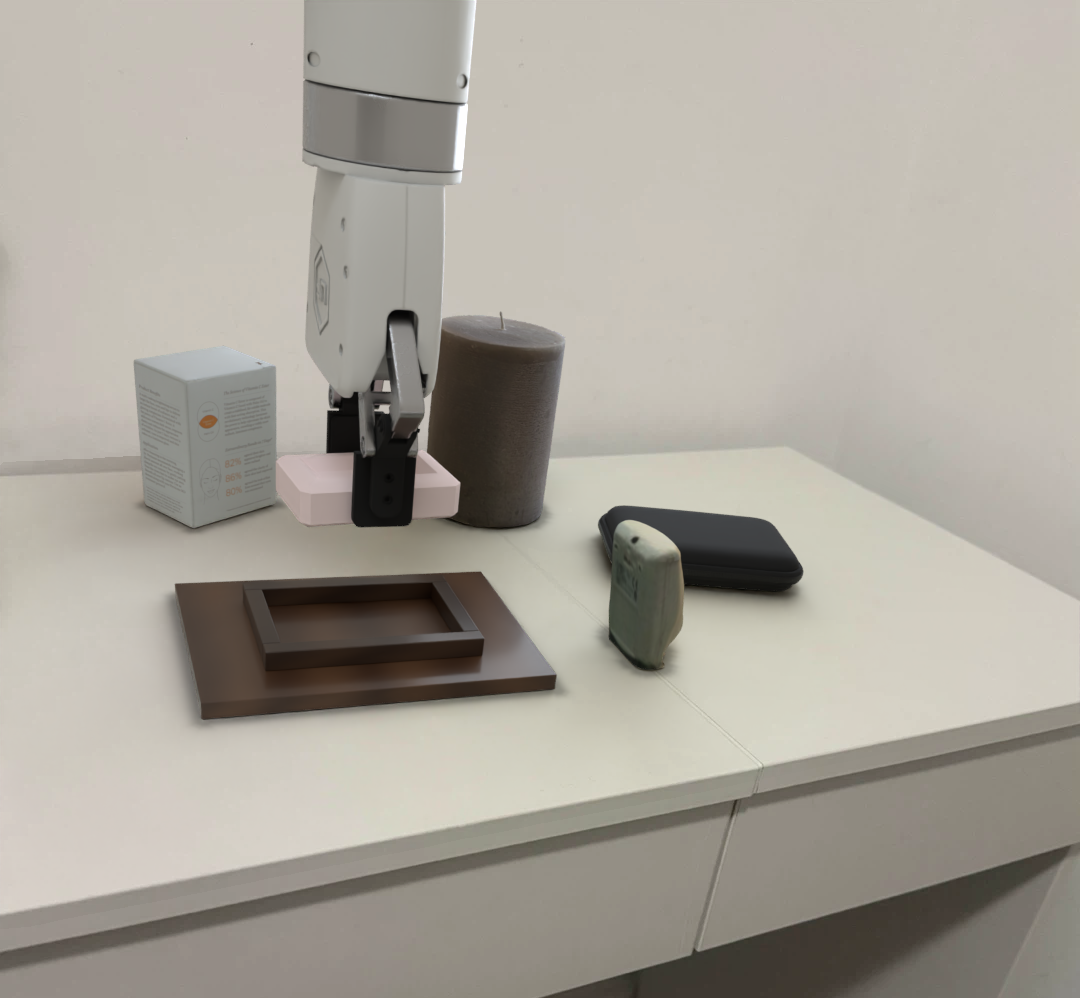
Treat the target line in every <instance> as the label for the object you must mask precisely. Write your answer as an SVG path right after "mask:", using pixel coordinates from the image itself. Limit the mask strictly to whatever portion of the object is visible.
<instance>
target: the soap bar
mask: <svg viewBox="0 0 1080 998" xmlns="http://www.w3.org/2000/svg"><path fill="white" fill-rule="evenodd" d="M353 456H354V453H327V454H326V453H302V454H301V453H300V454H299V453H298V454H283V455H281V456H280V457H279V458H277V460H276V492H277V495H278V496H279V497H280V498H281V500H282V501H283V502H284V503H285V505H286V506H287V507H288V509H289V511H290V512H291V513H292V514H293V516H294V517H295V518H296V519H297V521H298V523H300V524H302V525H304V526H305V527H307V528H314V527H316V528H317V527H330V526H344V525H354V523H353V521H352V519H351V507H352V481H353ZM459 493H460V482H459V481H458V480H457V479H456V478H455V477H454V476H452V475H451V474H450V473H449V472H448V471H447V470H446V469H445V468H444V467H442V466H441V465H440V464H439V463H438V462H437V461H436V460H435V459H434V458H433V457H431V456H430V455H429V454H428V453H427V451H425V450H424V449H418V454H417V457H416V471H415V485H414V499H413V512H412V521H417V520H419V521H420V520H432V519H434V520H435V519H446V518H448V517H452V516H453V515H455V514H456V513H457V512H458V503H459ZM448 519H449V518H448Z"/></svg>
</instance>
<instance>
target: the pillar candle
mask: <svg viewBox="0 0 1080 998" xmlns="http://www.w3.org/2000/svg"><path fill="white" fill-rule="evenodd" d="M565 348H566V336H564V335H562V333H560V332H557V331H555V330H552V329H549V328H546V327H544V326H542V325H541V326H540V325H538V324H534V323H532V322H526V321H522V320H517V319H512V318H505V317H504V315H503V311H499V317H498V316H491V315H484V314H473V315H471V314H467V315H465V314H463V315H452V316H447V317H442V324H441V339H440V350H439V360H438V368H437V375H436V381H435V386H434V389H433V391H432V392H431V393H430V395H431V397H430V405H429V416H428V418H429V419H428V427H427V443H426V444H427V445H426V453H428V454H429V455H430V456H431V457H433V458H434V459H435V460H436V461H437V462H438V463H439V464H440V465H441V466H442V467H444V468H445V469H446V470H447V471H448V472H449V473H450V474H451V475H452V476H454V477H455V478H456V479H457V480H458V481H459V482H460V493H459V503H458V512H457V513H456V514H455V515H453V516H452V517H448V519H450V520H453V521H456V522H458V523H461V524H465V525H469V526H472V527H480V528H513V527H519V526H526V525H529V524H531V523H533V522H536V521H537V520H538V519H539V518H540V517H541V515H542V514H543V513H542V511H543V508H544V499H545V492H546V487H547V486H546V485H547V478H548V472H549V471H548V469H549V464H550V457H551V452H552V451H551V450H552V442H553V436H554V435H553V434H554V428H555V421H556V415H557V406H558V398H559V394H560V393H559V392H560V385H561V379H562V371H563V363H564V357H565Z"/></svg>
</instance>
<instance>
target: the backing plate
mask: <svg viewBox="0 0 1080 998" xmlns="http://www.w3.org/2000/svg"><path fill="white" fill-rule="evenodd" d="M174 597H175V602H176V607H177V612H178V616H179V621H180V626H181V630H182V635H183V640H184V644H185V648H186V653H187V658H188V662H189V667H190V673H191V676H192V681H193V687H194V691H195V696H196V700H197V705H198V709H199V714H200V718H201V720H207V719H220V718H233V717H242V716H243V717H244V716H255V715H267V714H279V713H289V712H290V713H291V712H302V711H303V712H304V711H313V710H325V709H336V708H337V709H338V708H346V707H347V708H348V707H358V706H359V707H360V706H371V705H384V704H395V703H407V702H418V701H419V702H420V701H430V700H441V699H452V698H453V699H455V698H464V697H476V696H478V697H479V696H488V695H500V694H501V695H502V694H511V693H523V692H535V691H546V690H547V691H548V690H554V689H555V688H556V682H557V676H558V675H557V673H556V672H555V671H554V669H553V668H552V666H551V665H550V663H549V662H548V661H547V659H546V658H545V657H544V655H543V654H542V653H541V651H540V650H539V649H538V647H537V646H536V644H535V643H534V642H533V640H532V639H531V637H530V636H529V635H528V634H527V632H526V630H524V628H523V627H522V625H521V624H520V622H519V621H518V620H517V618H516V617H515V615H514V614H513V613H512V612H511V610H510V609H509V608H508V606H507V605H506V603H505V602H504V601H503V599H502V598H501V596H500V595H499V594H498V592H497V590H495V588H494V587H493V586H492V584H491V583H490V581H489V580H488V579H487V578H486V576H485V575H484V573H483V572H482V571H458V572H457V571H455V572H454V571H453V572H432V573H430V572H428V573H404V574H381V575H380V574H379V575H357V576H356V575H353V576H331V577H330V576H329V577H328V576H327V577H326V576H325V577H305V578H303V577H301V578H279V579H277V578H275V579H254V580H253V579H252V580H232V581H231V580H229V581H228V580H226V581H202V582H201V581H200V582H179V583H177V582H175V583H174Z"/></svg>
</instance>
